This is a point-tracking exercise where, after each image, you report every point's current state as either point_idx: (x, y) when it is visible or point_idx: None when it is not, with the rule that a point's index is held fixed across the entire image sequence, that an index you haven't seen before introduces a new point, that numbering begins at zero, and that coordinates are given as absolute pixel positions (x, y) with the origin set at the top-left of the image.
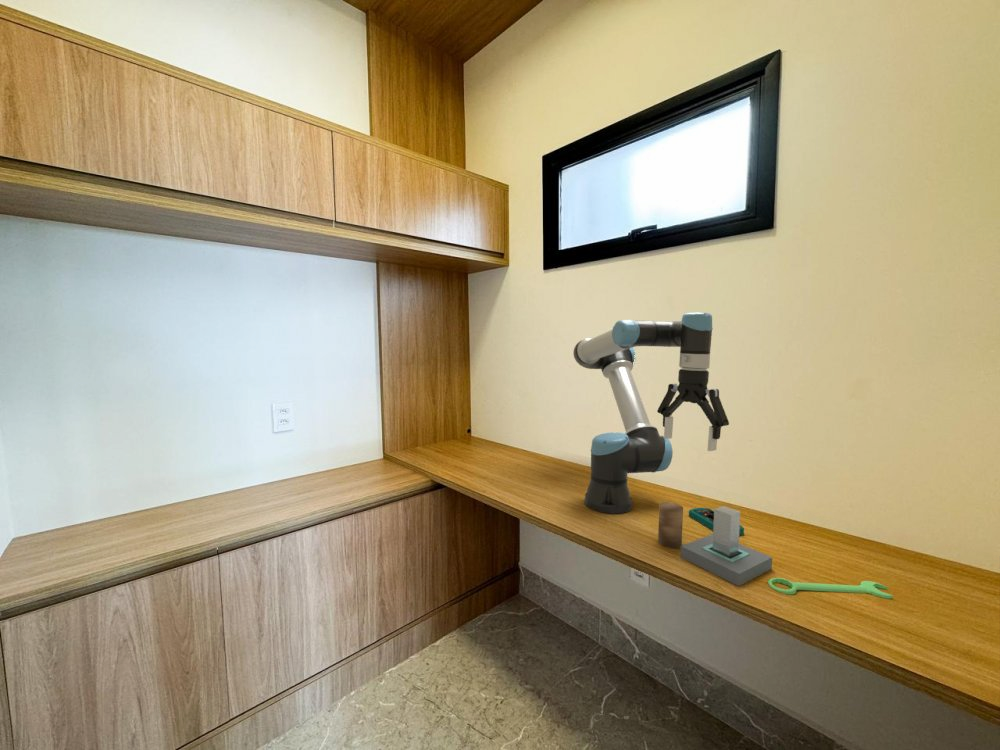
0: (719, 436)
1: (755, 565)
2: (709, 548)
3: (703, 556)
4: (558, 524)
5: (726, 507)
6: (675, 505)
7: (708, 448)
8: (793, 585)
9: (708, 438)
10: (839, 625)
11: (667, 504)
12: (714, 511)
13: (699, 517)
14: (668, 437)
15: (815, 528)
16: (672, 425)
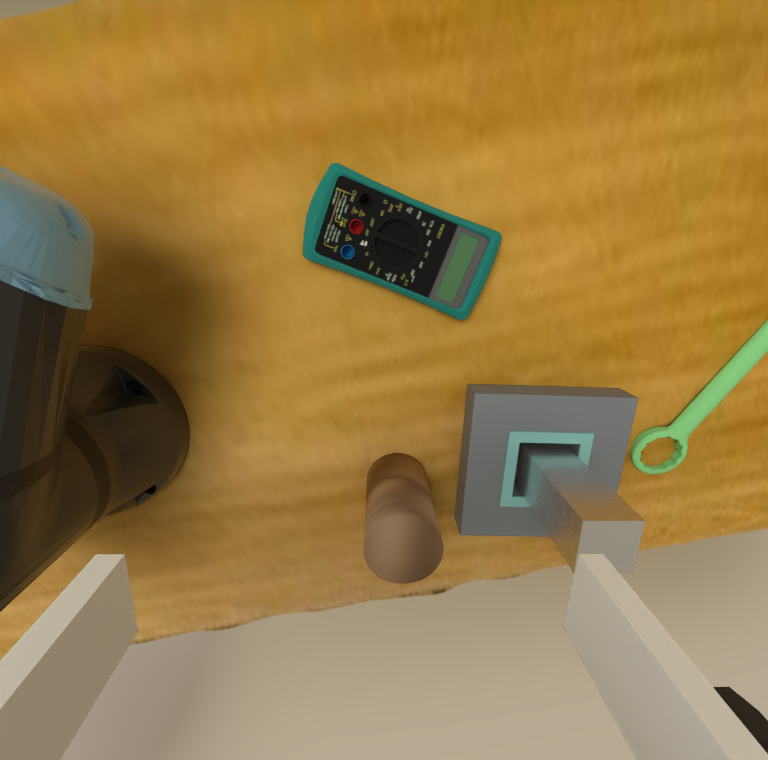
0: (764, 735)
1: (620, 473)
2: (512, 490)
3: (520, 534)
4: (175, 628)
5: (597, 526)
6: (407, 533)
7: (579, 642)
8: (683, 445)
9: (631, 748)
10: (757, 488)
11: (386, 548)
12: (570, 567)
13: (360, 277)
14: (124, 613)
15: None
16: (2, 712)
